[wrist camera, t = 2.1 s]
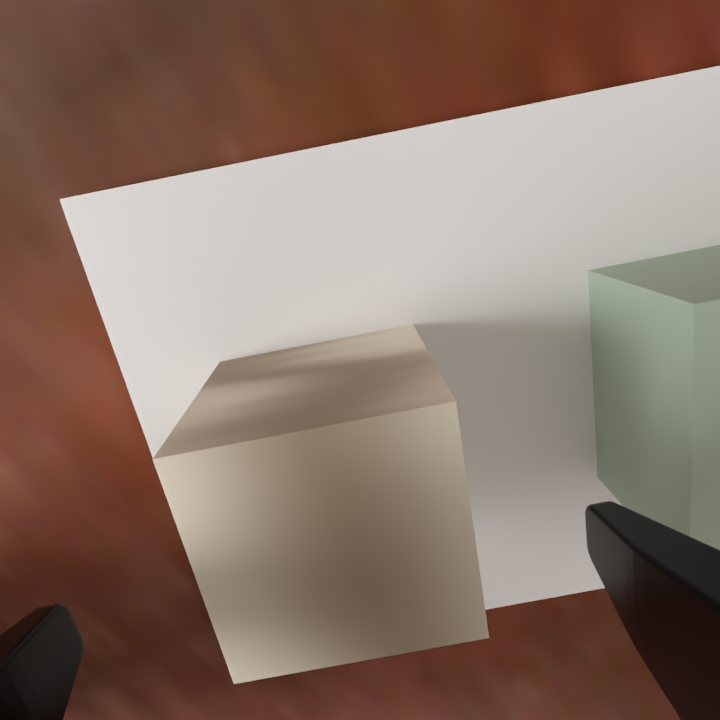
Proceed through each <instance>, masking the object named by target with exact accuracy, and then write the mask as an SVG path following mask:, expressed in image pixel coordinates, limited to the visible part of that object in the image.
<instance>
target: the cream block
mask: <svg viewBox="0 0 720 720" xmlns="http://www.w3.org/2000/svg"><path fill="white" fill-rule="evenodd" d="M153 462H154V465H155V468H156V470H157V473H158V476H159V479H160V481H161V484H162V487H163V490H164V493H165V495H166V498H167V501H168V504H169V506H170V509H171V512H172V515H173V517H174V520H175V523H176V526H177V528H178V531H179V534H180V537H181V540H182V542H183V545H184V548H185V551H186V553H187V556H188V559H189V562H190V564H191V567H192V570H193V573H194V575H195V578H196V581H197V584H198V586H199V589H200V592H201V595H202V598H203V600H204V603H205V606H206V609H207V611H208V614H209V617H210V620H211V622H212V625H213V628H214V631H215V633H216V636H217V639H218V642H219V645H220V647H221V650H222V653H223V656H224V658H225V661H226V664H227V667H228V669H229V672H230V675H231V678H232V680H233V683H234V684H237V683H243V682H249V681H254V680H260V679H265V678H271V677H276V676H282V675H287V674H293V673H298V672H304V671H309V670H315V669H320V668H326V667H331V666H337V665H343V664H348V663H354V662H359V661H365V660H370V659H376V658H381V657H387V656H392V655H398V654H403V653H409V652H414V651H420V650H425V649H431V648H436V647H442V646H448V645H453V644H459V643H464V642H470V641H475V640H481V639H486V638H489V633H488V626H487V618H486V611H485V604H484V597H483V590H482V583H481V576H480V569H479V561H478V554H477V547H476V540H475V533H474V526H473V519H472V512H471V504H470V497H469V490H468V483H467V476H466V469H465V462H464V455H463V448H462V440H461V433H460V426H459V419H458V412H457V405H456V400H455V399H454V397H453V395H452V393H451V391H450V390H449V388H448V386H447V384H446V383H445V381H444V379H443V377H442V375H441V374H440V372H439V370H438V368H437V367H436V365H435V363H434V361H433V359H432V358H431V356H430V354H429V352H428V351H427V349H426V347H425V345H424V343H423V342H422V340H421V338H420V336H419V334H418V333H417V331H416V329H415V327H414V326H413V324H411V325H406V326H401V327H396V328H391V329H386V330H380V331H375V332H370V333H365V334H360V335H355V336H350V337H344V338H339V339H334V340H329V341H324V342H319V343H313V344H308V345H303V346H298V347H293V348H288V349H283V350H277V351H272V352H267V353H262V354H257V355H252V356H247V357H241V358H236V359H231V360H226V361H221V362H219V364H218V365H217V367H216V368H215V370H214V371H213V372H212V374H211V375H210V377H209V378H208V380H207V381H206V383H205V384H204V385H203V387H202V388H201V390H200V391H199V393H198V394H197V396H196V397H195V398H194V400H193V401H192V403H191V404H190V406H189V407H188V409H187V410H186V411H185V413H184V414H183V416H182V417H181V419H180V420H179V422H178V423H177V424H176V426H175V427H174V429H173V430H172V432H171V433H170V435H169V436H168V437H167V439H166V440H165V442H164V443H163V445H162V446H161V448H160V449H159V450H158V452H157V453H156V455H155V456H154V458H153Z"/></svg>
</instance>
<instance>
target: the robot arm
mask: <svg viewBox="0 0 720 720" xmlns="http://www.w3.org/2000/svg"><path fill="white" fill-rule="evenodd" d="M585 520H586V538H587V549H588V553H589V556H590V558H591V561H592V563H593V565H594V567H595V569H596V571H597V573H598V575H599V577H600V579H601V581H602V583H603V585H604V587H605V589H606V591H607V593H608V595H609V597H610V599H611V601H612V603H613V605H614V607H615V609H616V611H617V613H618V615H619V617H620V619H621V621H622V623H623V625H624V626H625V628H626V630H627V632H628V634H629V636H630V638H631V640H632V642H633V644H634V646H635V647H636V649H637V651H638V652H639V654H640V656H641V657H642V659H643V661H644V662H645V664H646V666H647V667H648V669H649V670H650V672H651V673H652V675H653V677H654V678H655V680H656V681H657V683H658V684H659V686H660V688H661V689H662V691H663V692H664V694H665V695H666V697H667V699H668V700H669V702H670V703H671V705H672V706H673V708H674V710H675V711H676V713H677V714H678V716H679V717H680V719H681V720H720V550H718V549H716V548H714V547H712V546H710V545H707V544H705V543H703V542H701V541H699V540H696V539H694V538H692V537H690V536H688V535H685V534H683V533H681V532H679V531H677V530H674V529H672V528H670V527H668V526H666V525H663V524H661V523H659V522H657V521H655V520H652V519H650V518H648V517H646V516H643V515H641V514H639V513H637V512H635V511H632V510H630V509H628V508H626V507H624V506H621V505H619V504H617V503H615V502H612V501H606V502H601V503H595V504H590V505H588V506H587V507H586V511H585ZM82 654H83V640H82V637H81V635H80V633H79V630H78V628H77V626H76V624H75V622H74V620H73V618H72V615H71V613H70V611H69V609H68V608H67V607H66V606H65V605H64V604H54V605H49V606H43V607H39V608H37V609H35V610H34V611H32V612H31V613H30V614H28V615H27V616H26V617H24V618H23V619H22V620H20V621H19V622H18V623H16V624H15V625H14V626H12V627H11V628H10V629H8V630H7V631H5V632H4V633H3V634H1V635H0V720H63V717H64V714H65V710H66V707H67V704H68V701H69V697H70V694H71V691H72V687H73V684H74V681H75V677H76V674H77V671H78V668H79V664H80V661H81V658H82Z"/></svg>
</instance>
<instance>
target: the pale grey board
mask: <svg viewBox="0 0 720 720" xmlns="http://www.w3.org/2000/svg"><path fill="white" fill-rule="evenodd" d="M59 200H60V202H61V205H62V208H63V211H64V214H65V216H66V219H67V222H68V225H69V227H70V230H71V233H72V236H73V238H74V241H75V244H76V247H77V250H78V252H79V255H80V258H81V261H82V263H83V266H84V269H85V272H86V274H87V277H88V280H89V283H90V286H91V288H92V291H93V294H94V297H95V299H96V302H97V305H98V308H99V310H100V313H101V316H102V319H103V321H104V324H105V327H106V330H107V333H108V335H109V338H110V341H111V344H112V346H113V349H114V352H115V355H116V357H117V360H118V363H119V366H120V369H121V371H122V374H123V377H124V380H125V382H126V385H127V388H128V391H129V393H130V396H131V399H132V402H133V405H134V407H135V410H136V413H137V416H138V418H139V421H140V424H141V427H142V429H143V432H144V435H145V438H146V441H147V443H148V446H149V449H150V452H151V454H152V457H153V458H154V456H155V455H156V453H157V452H158V450H159V449H160V448H161V446H162V445H163V443H164V442H165V440H166V439H167V437H168V436H169V435H170V433H171V432H172V430H173V429H174V427H175V426H176V424H177V423H178V422H179V420H180V419H181V417H182V416H183V414H184V413H185V411H186V410H187V409H188V407H189V406H190V404H191V403H192V401H193V400H194V398H195V397H196V396H197V394H198V393H199V391H200V390H201V388H202V387H203V385H204V384H205V383H206V381H207V380H208V378H209V377H210V375H211V374H212V372H213V371H214V370H215V368H216V367H217V365H218V364H219V362H221V361H226V360H231V359H236V358H241V357H247V356H252V355H257V354H262V353H267V352H272V351H277V350H283V349H288V348H293V347H298V346H303V345H308V344H313V343H319V342H324V341H329V340H334V339H339V338H344V337H350V336H355V335H360V334H365V333H370V332H375V331H380V330H386V329H391V328H396V327H401V326H406V325H411V324H413V326H414V327H415V329H416V331H417V333H418V334H419V336H420V338H421V340H422V342H423V343H424V345H425V347H426V349H427V351H428V352H429V354H430V356H431V358H432V359H433V361H434V363H435V365H436V367H437V368H438V370H439V372H440V374H441V375H442V377H443V379H444V381H445V383H446V384H447V386H448V388H449V390H450V391H451V393H452V395H453V397H454V399H455V400H456V405H457V412H458V419H459V426H460V433H461V440H462V448H463V455H464V462H465V469H466V476H467V483H468V490H469V497H470V504H471V512H472V519H473V526H474V533H475V540H476V547H477V554H478V561H479V569H480V576H481V583H482V590H483V597H484V604H485V610H487V609H492V608H498V607H503V606H509V605H514V604H520V603H525V602H531V601H536V600H542V599H547V598H553V597H558V596H564V595H569V594H575V593H580V592H586V591H591V590H597V589H602V588H605V587H604V585H603V583H602V581H601V579H600V577H599V575H598V573H597V571H596V569H595V567H594V565H593V563H592V561H591V558H590V556H589V553H588V549H587V538H586V520H585V511H586V507H587V506H588V505H590V504H595V503H601V502H606V501H612V502H615V503H617V504H619V505H621V506H623V505H622V504H621V503H620V502H619V501H618V500H617V499H616V498H615V496H614V495H613V494H612V493H611V492H610V491H609V490H608V489H607V488H606V486H605V485H604V484H603V483H602V482H601V481H600V480H599V479H598V476H597V455H596V433H595V411H594V390H593V368H592V347H591V325H590V303H589V282H588V270H593V269H598V268H603V267H608V266H613V265H618V264H623V263H628V262H634V261H639V260H644V259H649V258H654V257H659V256H664V255H669V254H675V253H680V252H685V251H690V250H695V249H700V248H705V247H710V246H716V245H720V66H716V67H711V68H706V69H701V70H696V71H691V72H686V73H681V74H676V75H671V76H666V77H661V78H656V79H652V80H647V81H642V82H637V83H632V84H627V85H622V86H617V87H612V88H607V89H602V90H597V91H592V92H587V93H582V94H577V95H572V96H567V97H563V98H558V99H553V100H548V101H543V102H538V103H533V104H528V105H523V106H518V107H513V108H508V109H503V110H498V111H493V112H488V113H483V114H478V115H474V116H469V117H464V118H459V119H454V120H449V121H444V122H439V123H434V124H429V125H424V126H419V127H414V128H409V129H404V130H399V131H394V132H389V133H385V134H380V135H375V136H370V137H365V138H360V139H355V140H350V141H345V142H340V143H335V144H330V145H325V146H320V147H315V148H310V149H305V150H300V151H296V152H291V153H286V154H281V155H276V156H271V157H266V158H261V159H256V160H251V161H246V162H241V163H236V164H231V165H226V166H221V167H216V168H212V169H207V170H202V171H197V172H192V173H187V174H182V175H177V176H172V177H167V178H162V179H157V180H152V181H147V182H142V183H137V184H132V185H127V186H123V187H118V188H113V189H108V190H103V191H98V192H93V193H88V194H83V195H78V196H73V197H68V198H63V199H59Z"/></svg>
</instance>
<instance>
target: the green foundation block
mask: <svg viewBox="0 0 720 720" xmlns="http://www.w3.org/2000/svg"><path fill="white" fill-rule="evenodd" d="M588 282H589V303H590V325H591V347H592V368H593V390H594V411H595V433H596V455H597V476H598V479H599V480H600V481H601V482H602V483H603V484H604V485H605V486H606V488H607V489H608V490H609V491H610V492H611V493H612V494H613V495H614V496H615V498H616V499H617V500H618V501H619V502H620V503H621V504H622V505H623V506H624V507H626V508H628V509H630V510H632V511H635V512H637V513H639V514H641V515H643V516H646V517H648V518H650V519H652V520H655V521H657V522H659V523H661V524H663V525H666V526H668V527H670V528H672V529H674V530H677V531H679V532H681V533H683V534H685V535H688V536H690V537H692V538H694V539H696V540H699V541H701V542H703V543H705V544H707V545H710V546H712V547H714V548H716V549H718V550H720V245H716V246H710V247H705V248H700V249H695V250H690V251H685V252H680V253H675V254H669V255H664V256H659V257H654V258H649V259H644V260H639V261H634V262H628V263H623V264H618V265H613V266H608V267H603V268H598V269H593V270H588Z"/></svg>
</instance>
